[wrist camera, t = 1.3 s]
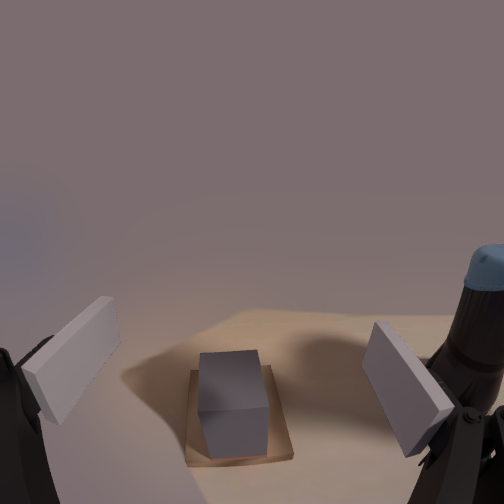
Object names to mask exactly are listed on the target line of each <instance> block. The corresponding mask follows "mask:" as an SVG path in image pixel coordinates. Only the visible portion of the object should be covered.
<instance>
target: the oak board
mask: <svg viewBox="0 0 504 504" xmlns="http://www.w3.org/2000/svg"><path fill="white" fill-rule="evenodd" d="M261 371H262V375H263V380H264V384H265V389H266V394H267V398H268V403H269V426H268V447H267V457H262V458H252V459H241V460H223V461H212V459H211V456H210V453H209V450H208V447H207V443H206V440H205V437H204V433H203V430H202V426H201V423H200V419H199V416H198V412H197V406H198V382H199V370H191V373H190V385H189V398H188V412H187V429H186V449H185V462H186V464H187V466H188V467H228V466H243V465H255V464H264V463H272V462H279V461H285V460H291V459H293V455H294V452H293V448H292V444H291V441H290V437H289V433H288V429H287V426H286V422H285V418H284V414H283V411H282V407H281V403H280V399H279V395H278V392H277V388H276V384H275V380H274V376H273V373H272V369H271V365H266V366H261Z"/></svg>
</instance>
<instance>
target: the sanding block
mask: <svg viewBox="0 0 504 504" xmlns="http://www.w3.org/2000/svg"><path fill="white" fill-rule="evenodd" d="M197 412H198V416H199V419H200V423H201V426H202V430H203V433H204V437H205V440H206V443H207V447H208V450H209V453H210V456H211V459H212V461H223V460H241V459H252V458H262V457H267V447H268V426H269V403H268V398H267V394H266V389H265V384H264V380H263V375H262V371H261V366H260V361H259V357H258V352H257V350H246V351H232V352H215V353H200V363H199V382H198V406H197Z"/></svg>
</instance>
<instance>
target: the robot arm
mask: <svg viewBox="0 0 504 504" xmlns="http://www.w3.org/2000/svg"><path fill="white" fill-rule="evenodd" d="M119 344H120V337H119V331H118V325H117V317H116V310H115V301H114V298H113V297H107V296H101V297H99V298H98V299H97V300H96V301H95V302H93V303H92V304H91V305H90V306H89V307H87V308H86V309H85V310H84V311H83V312H81V313H80V314H79V315H78V316H77V317H76V318H75V319H73V320H72V321H71V322H70V323H69V324H67V325H66V326H65V327H64V328H63V329H62V330H61V331H59V332H58V333H57V334H56V335H52V336H50V337H48V338H46V339H44V340H43V341H41V342H40V343H39V344H38V345H37V347H35V348H34V349H33V350H32V352H31V351H30V352H29V353H28V354H27V355H26V356H25V357H24V358H23V359H21V360H20V361H19V362H18V363H17V364H16V365H15V366H14V365H13V363H12V361H11V358H10V355H9V353H8V351H7V350H5V349H4V348H0V504H60V501H59V498H58V496H57V493H56V490H55V486H54V483H53V479H52V476H51V472H50V468H49V465H48V461H47V456H46V452H45V447H44V442H43V437H42V430H41V424H40V419H39V417H38V415H37V414H38V413H39V411H40V410H41V411H42V412H43V414H44V416H45V418H46V419H47V420H49V421H50V422H53V423H55V424H56V425H58V426H61V424H62V423H63V421H64V420H65V418H66V417H67V415H68V414H69V413H70V411H71V410H72V408H73V407H74V405H75V404H76V402H77V401H78V399H79V398H80V397H81V395H82V394H83V393H84V391H85V390H86V388H87V387H88V386H89V384H90V383H91V382H92V380H93V379H94V377H95V376H96V375H97V373H98V372H99V371H100V369H101V368H102V367H103V365H104V364H105V363H106V361H107V360H108V359H109V357H110V356H111V355H112V353H113V352H114V351H115V349H116V348H117V347H118V345H119ZM361 366H362V368H363V370H364V372H365V374H366V375H367V377H368V379H369V381H370V383H371V385H372V387H373V389H374V392H375V394H376V396H377V398H378V400H379V402H380V404H381V406H382V408H383V410H384V412H385V414H386V416H387V418H388V421H389V423H390V425H391V427H392V429H393V431H394V433H395V436H396V438H397V440H398V442H399V444H400V447H401V449H402V451H403V453H404V456H405V458H407V457H410V456H414V455H417V454H420V453H421V452H422V451H423V450H424V449H425V447H426V446H427V445H429V447H430V449H431V450H430V451H429V452H428V454H427V455H426V456H425V457H424V458H423V459H422V461H421V462H420V463H419V465H418V466H421V465H422V464H423V462H424V465H423V468H422V470H421V473H420V475H419V478H418V480H417V483H416V485H415V488H414V490H413V492H412V495H411V497H410V499H409V501H408V503H407V504H504V405H503V406H499V407H498V408H497V409H496V411H495V412H494V413H493V415H488V416H485V415H486V414H487V412H488V411H489V410H490V408H491V407H492V405H493V404H494V402H495V401H496V398H497V396H498V393H499V389H500V386H501V382H502V378H503V374H504V244H492V245H485V246H482V247H480V248H479V249H477V250H476V251H475V252H474V254H473V256H472V258H471V262H470V266H469V269H468V273H467V275H466V277H465V279H464V288H463V292H462V296H461V299H460V302H459V305H458V308H457V312H456V314H455V317H454V320H453V323H452V326H451V328H450V331H449V334H448V336H447V339H446V340H445V342H444V343H443V344H442V345H441V346H440V348H439V349H438V350H437V351H436V352H435V353H434V355H433V356H432V357H431V358H430V359H429V360H428V362H427V363H426V365H425V366H424V365H423V364H422V362H421V361H420V360H419V359H418V357H417V356H416V355H415V354H414V352H413V351H412V350H411V349H410V347H409V346H408V345H407V344H406V343H405V341H404V340H403V339H402V338H401V336H400V335H399V334H398V333H397V332H396V330H395V329H394V328H393V327H392V326H391V324H390V323H389V322H388V321H375V323H374V326H373V330H372V333H371V336H370V339H369V342H368V346H367V349H366V352H365V355H364V357H363V360H362V363H361ZM494 450H495V452H496V455H495V456H494V457H493V458H491V453H492V452H493V451H494Z"/></svg>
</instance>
